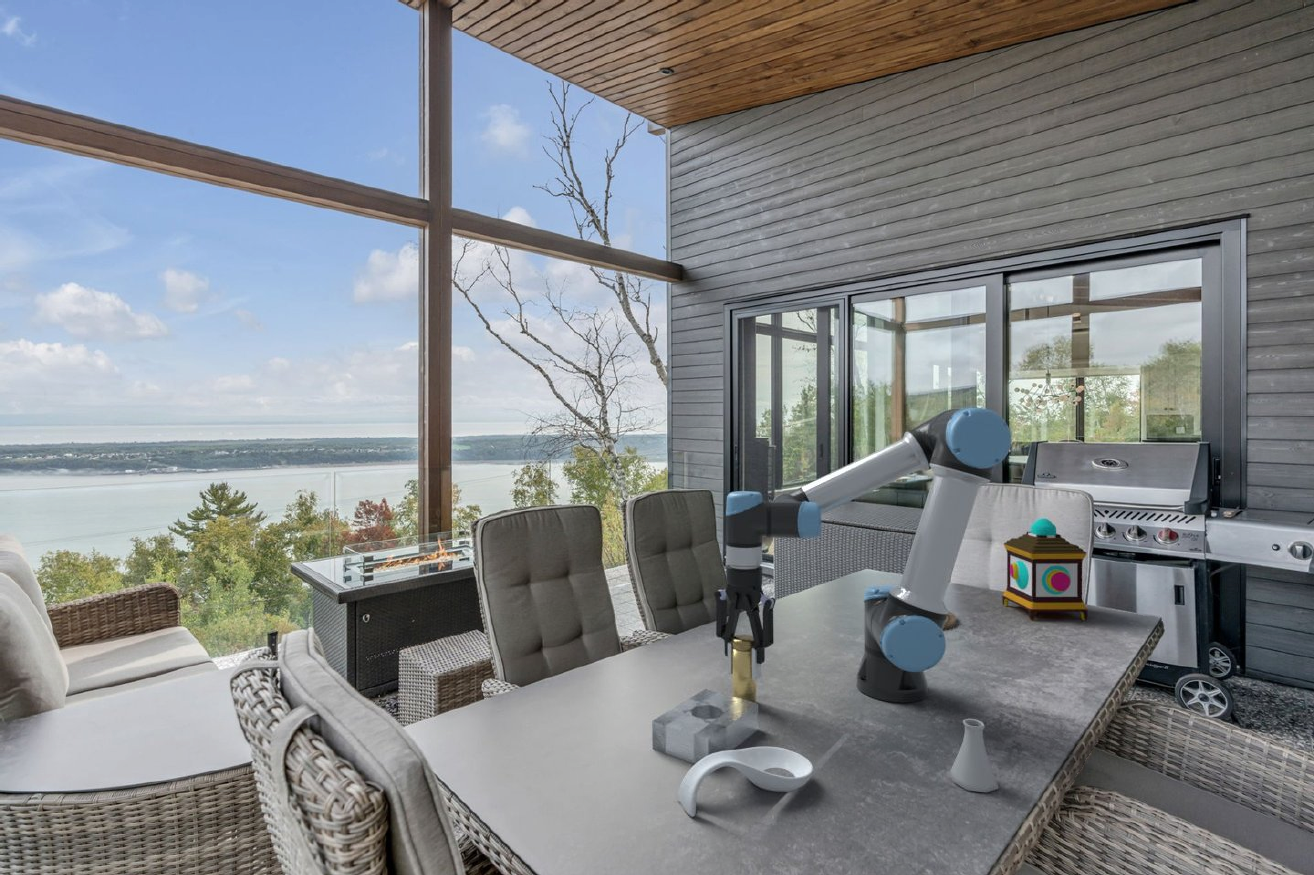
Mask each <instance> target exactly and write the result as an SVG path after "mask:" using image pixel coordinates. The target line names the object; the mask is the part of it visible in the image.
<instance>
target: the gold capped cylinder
mask: <svg viewBox="0 0 1314 875" xmlns="http://www.w3.org/2000/svg"><path fill="white" fill-rule="evenodd" d="M753 647H755V643H754V639H753V635H750V634H738V635H734V636H733V638H732V674H731V675H732V696H733V697H736V698H740V699H744V700H747V701H751V702H755V703H757V680H752V648H753Z"/></svg>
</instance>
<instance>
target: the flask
mask: <svg viewBox="0 0 1314 875" xmlns="http://www.w3.org/2000/svg"><path fill="white" fill-rule="evenodd" d="M962 723H963V725H964V735H963V738H962V739H963V740H962V743H961V745H960V748H959V750H958V753H957V756H956V758H955V760H954V762H953V765H952V767H951V769H950V770H949V775H950V777H951V778H950V779H951V780H952V782H953V783H955V784H956V785H957V786H960V787H961V788H962V789H964V790H965V791H970V792H978V793H979V792H980V793H989V792H992V791H996V790H999V789H1000V788H999V785H998V782H997V779H996V777H995V773H994V771H993V768H992V765H991V764H990V760H989V756H988V754H987V751H986V746H985V742H984V741H985V740H984V732H983V731H984V730H985V728H986V726H985V724H984V722H983V721H981V720H978V719H977V718H976V719H974V718H965V719H962Z"/></svg>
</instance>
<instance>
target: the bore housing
mask: <svg viewBox="0 0 1314 875" xmlns="http://www.w3.org/2000/svg"><path fill="white" fill-rule="evenodd" d="M757 731H759V703H758V702H751V701H747V700H744V699H740V698H736V697H733V695H730V694H725V693H722V692H718V691H714V690H710V689H706V688H705V689H703V690H702V691H699V692H698V693H697V694H695V695H693V696H691V697H690V698H688V699H686V700H685V701H683V702H682V703H680V704H678V705H677V706H675V707H673V708H671V709H670V710H668V711H666V712H665V713H663V714H662V715H660V716H658V717H657V718H655V719H653V720H652V729H651V732H652V735H651V736H652V740H651V742H652V749H653V750H656V751H658V752H661V753H664V754H667V755H669V756H673V757H675V758H678V759H680V760H683V761H686V762H688V763H691V764H694V765H695V764H696V763H697V762H699V761H700V760H701V759H703V758H704V757H706V756H708V755H710V754H713V753H716V752H720V751H727V750H735V748H737V747H739V745H741V744H742V743H743V742H745V741H746V740H747V739H748V738H750V737H751V736H752V735H753V734H754V733H756V732H757Z"/></svg>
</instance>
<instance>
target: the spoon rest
mask: <svg viewBox="0 0 1314 875" xmlns="http://www.w3.org/2000/svg"><path fill="white" fill-rule="evenodd" d="M723 767H724V768H725V767H731V768H734V769H736V770H737V771H738V772H740V773H741V774H742V775H744V777H746V779H748V780H749V781H750V782H751V783H752V784H753V785H755V786H757V787H758V788H760V789H763V790H765V791H768V792H776V793H777V792H778V793H785V792H786V793H789V792H794V791H796V790H798V789H800V788H801V787H802V786H804V785H805V784H807V782H808V781H809V780H810V779H811V777H813V773H814V765H813V764H812V762H811V761H810V760H809V759H807V757H805V756H803V755H801V754H800V753H798V752H796V751H793V750H790V749H786V748H783V747H778V746H755V747H754V746H753V747H747V748H741V749H733V750H727V751H720V752H716V753H713V754H710V755H708V756H706V757H704V758H703V759H701V760H700V761H699V762H697V763H696V764H694V765H693V766H692V767H691V768H690V769H689V770H688V771H687V773H686V774H685V776H684V778H683V779H682V781H681V784H680V786H679V789H678V792H677V794H678V795H677V799H678V800H677V802H678V805H679V806H680V805H681V806H680V807H681V808H682V809H683V810H684V811H685V812H686V814H688V815H689V816H690V817H691V818H693V817H695V816H696V811H697V808H696V807H697V798H698V792H699V789H700V787H701V784H702V783H703V782H704V780H705V779H706V778H707V777H708V776H709V775H710V774H711V773H713V772H714V771H716V770H718V769H720V768H723ZM774 768H775V769H783V770H786V771H788V772H790V773H791V774H792V775H793V777H792V776H791V777H789V776H782V775H778V774H773V773H770V772H767V771H765V770H768V769H774Z"/></svg>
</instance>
